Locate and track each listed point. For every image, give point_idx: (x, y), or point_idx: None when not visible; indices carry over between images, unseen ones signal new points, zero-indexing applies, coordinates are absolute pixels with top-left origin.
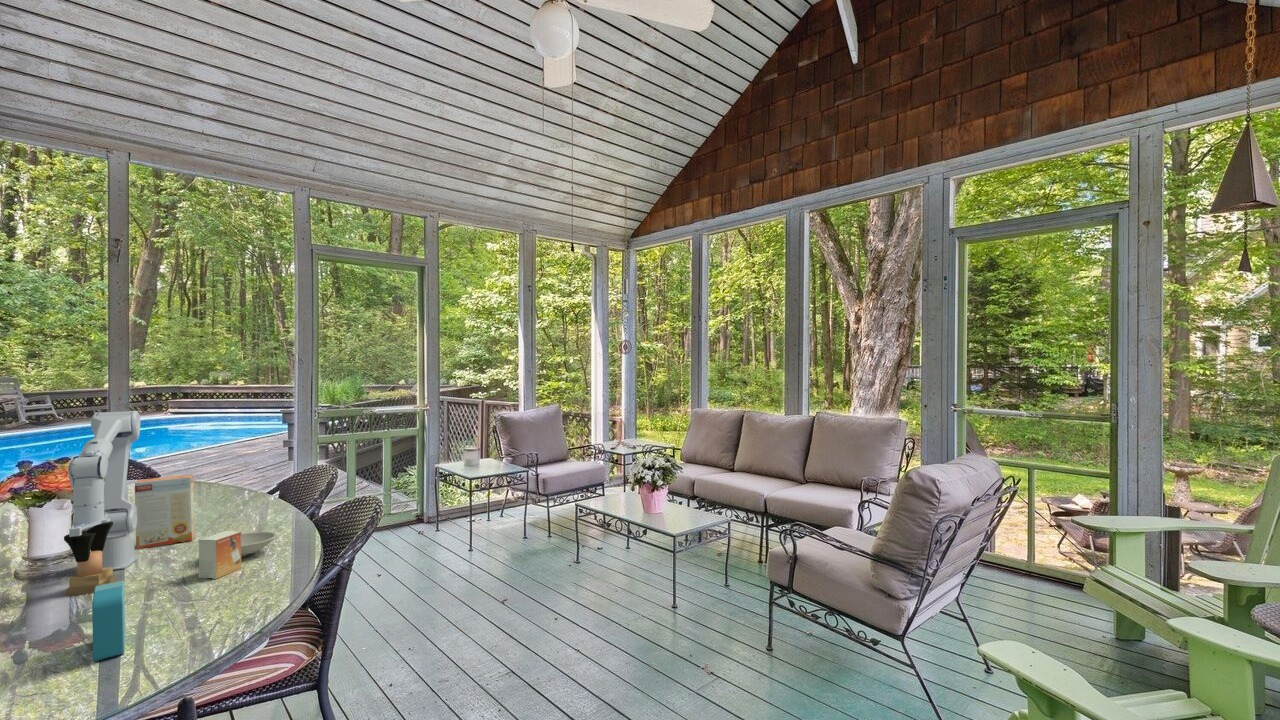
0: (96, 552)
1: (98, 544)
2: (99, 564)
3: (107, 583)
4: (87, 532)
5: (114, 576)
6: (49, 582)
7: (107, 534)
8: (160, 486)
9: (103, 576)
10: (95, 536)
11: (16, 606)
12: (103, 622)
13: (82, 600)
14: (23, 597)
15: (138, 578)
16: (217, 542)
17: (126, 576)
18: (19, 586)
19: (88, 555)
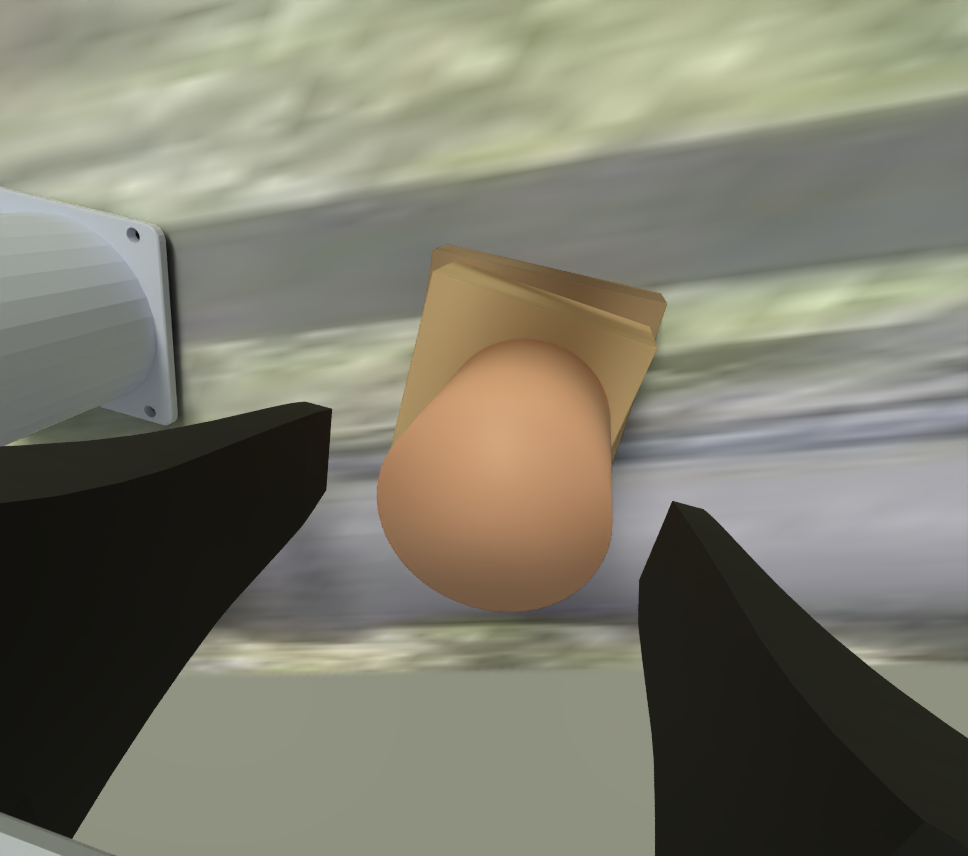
0: (474, 459)
1: (273, 481)
2: (568, 377)
3: (574, 277)
4: (126, 736)
5: (443, 250)
6: None
7: (105, 443)
8: None
9: (582, 314)
10: (186, 587)
11: (608, 652)
12: None
13: (792, 389)
14: (461, 635)
15: (467, 68)
16: None
17: (354, 183)
18: (264, 651)
19: (731, 540)
